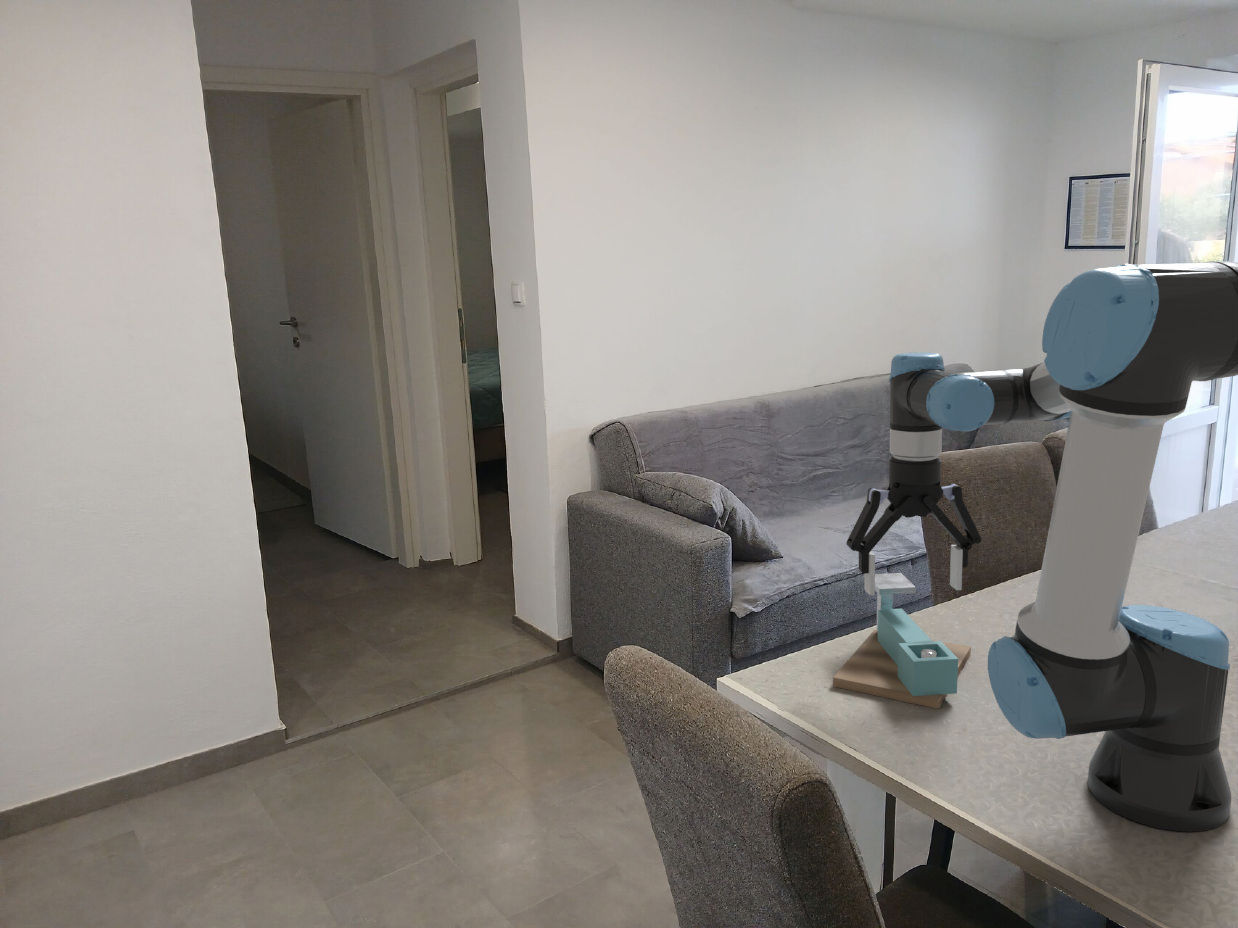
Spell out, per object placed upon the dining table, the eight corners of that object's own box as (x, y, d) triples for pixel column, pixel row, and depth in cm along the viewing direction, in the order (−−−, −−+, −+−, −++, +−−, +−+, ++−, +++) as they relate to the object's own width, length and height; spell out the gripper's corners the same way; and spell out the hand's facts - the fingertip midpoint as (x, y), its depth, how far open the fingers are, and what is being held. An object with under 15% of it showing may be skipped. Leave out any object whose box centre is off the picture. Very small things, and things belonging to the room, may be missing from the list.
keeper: (913, 655, 158) (915, 586, 155) (877, 657, 158) (879, 589, 155) (899, 638, 165) (901, 572, 162) (864, 640, 164) (866, 574, 162)
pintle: (932, 699, 143) (934, 656, 141) (918, 696, 144) (919, 653, 142) (936, 693, 144) (938, 650, 143) (921, 690, 146) (923, 648, 144)
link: (956, 693, 141) (958, 658, 140) (912, 696, 141) (913, 661, 140) (908, 638, 161) (909, 608, 160) (869, 641, 161) (870, 610, 159)
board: (938, 708, 140) (938, 699, 140) (832, 686, 148) (833, 677, 148) (970, 655, 157) (970, 646, 157) (874, 637, 166) (874, 629, 165)
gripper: (985, 447, 148) (981, 577, 153) (826, 455, 147) (826, 586, 151) (1007, 456, 141) (1002, 593, 145) (840, 465, 140) (840, 602, 144)
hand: (912, 590), depth 148 cm, fingers open, 13 cm apart
